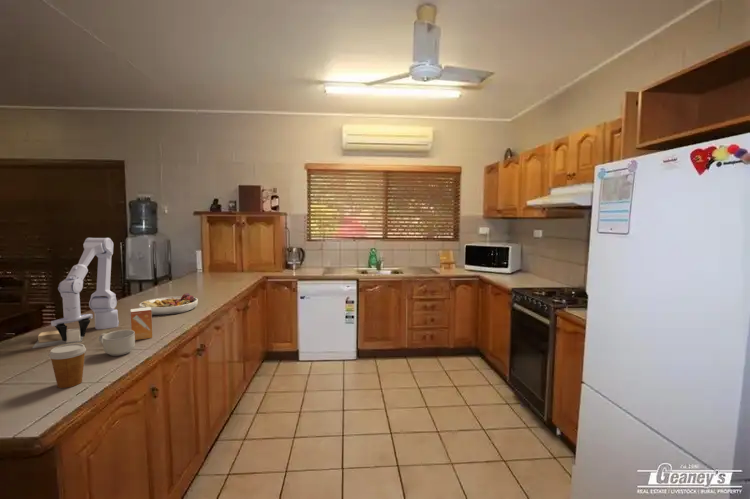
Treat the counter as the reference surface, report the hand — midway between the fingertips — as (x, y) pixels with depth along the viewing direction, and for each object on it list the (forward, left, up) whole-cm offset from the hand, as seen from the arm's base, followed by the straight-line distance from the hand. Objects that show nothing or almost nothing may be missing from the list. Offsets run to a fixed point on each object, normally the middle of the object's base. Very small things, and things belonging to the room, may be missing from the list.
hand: (73, 338), depth 165 cm
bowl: (-40, -44, -2) cm, 60 cm away
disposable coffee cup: (-4, +51, -2) cm, 51 cm away
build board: (+5, -4, -2) cm, 7 cm away
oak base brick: (+8, -6, -1) cm, 10 cm away
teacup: (-16, +25, -2) cm, 30 cm away
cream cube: (0, 0, -1) cm, 1 cm away
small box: (-25, +8, -2) cm, 26 cm away
